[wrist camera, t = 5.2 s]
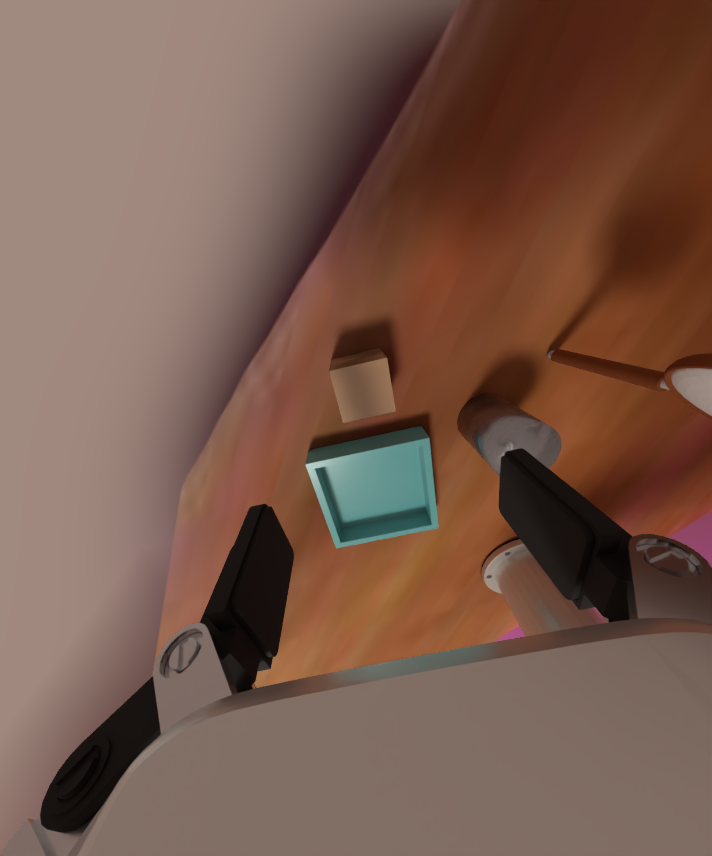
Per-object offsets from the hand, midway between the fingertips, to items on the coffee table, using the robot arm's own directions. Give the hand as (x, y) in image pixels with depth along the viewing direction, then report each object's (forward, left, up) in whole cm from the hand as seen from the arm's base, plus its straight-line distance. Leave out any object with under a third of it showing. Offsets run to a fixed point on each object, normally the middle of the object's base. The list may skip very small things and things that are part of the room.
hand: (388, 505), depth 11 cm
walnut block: (0, 0, -19) cm, 19 cm away
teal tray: (+1, +14, -19) cm, 23 cm away
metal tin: (-13, +8, -19) cm, 24 cm away
